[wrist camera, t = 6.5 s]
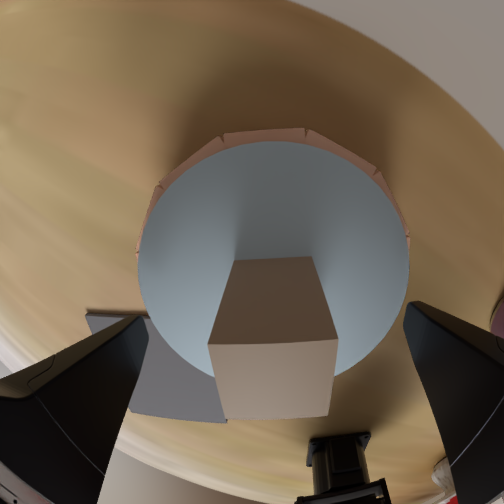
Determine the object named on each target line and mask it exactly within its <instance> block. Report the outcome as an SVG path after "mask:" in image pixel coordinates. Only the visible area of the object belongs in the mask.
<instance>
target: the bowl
mask: <svg viewBox="0 0 504 504" xmlns="http://www.w3.org/2000/svg"><path fill="white" fill-rule="evenodd" d="M223 135H224V137H222V136H217V137H216V138H214V139H213V140H211V141H210V142H209V143H207V144H206V145H205V146H203V147H202V148H201V149H199V150H198V151H197V152H196V153H194V154H193V155H192V156H190V157H189V158H188V159H186V160H185V161H184V162H183V163H181V164H180V165H179V166H178V167H176V168H175V169H174V170H173V171H172V172H170V173H169V174H168V175H167V176H165V177H164V178H163V179H162V180H161V181H159V183H160V185H158V186H156V187H155V190H154V193H153V196H152V199H151V202H150V205H149V208H148V210H147V214H146V217H145V220H144V223H143V226H142V229H141V232H140V236H139V239H138V242H137V246H136V250H138V252H137V253H135V254H136V258H137V263H138V255H139V246H140V242H141V238H142V234H143V230H144V228H145V225H146V223H147V220H148V218H149V215H150V214H151V212H152V210H153V208H154V207H155V205H156V203H157V202H158V200H159V199H160V197H161V196H162V195H163V194H164V192H165V191H166V190H167V189H168V187H169V186H170V185H171V184H172V183H173V182H174V181H175V180H176V179H177V178H179V177H180V176H181V175H182V174H183V173H184V172H185V171H187V170H188V169H190V168H191V167H192V166H194V165H195V164H197V163H198V162H200V161H202V160H203V159H205V158H207V157H209V156H212V155H214V154H216V153H218V152H220V151H223V150H226V149H229V148H232V147H236V146H239V145H243V144H249V143H256V142H263V141H286V142H293V143H300V144H306V145H310V146H314V147H317V148H320V149H323V150H326V151H329V152H331V153H333V154H335V155H337V156H339V157H342V158H344V159H346V160H348V161H349V162H350V163H352V164H353V165H355V166H356V167H358V168H359V169H361V170H362V171H363V172H365V173H366V174H367V175H368V176H369V177H370V178H371V179H372V180H373V181H374V182H375V183H376V184H377V185H378V186H379V187H380V188H381V189H382V191H383V192H384V193H385V194H386V196H387V197H388V198H389V200H390V201H391V203H392V205H393V207H394V208H395V210H396V212H397V214H398V216H399V218H400V221H401V223H402V226H403V229H404V231H405V235H406V240H407V245H408V250H409V248H410V237H409V236H408V234H409V233H410V232H409V230H408V228H407V225H406V223H405V221H404V219H403V216H402V214H401V212H400V210H399V208H398V206H397V204H396V201H395V199H394V197H393V195H392V193H391V191H390V189H389V187H388V185H387V183H386V181H385V179H384V178H383V176H382V174H381V172H380V171H377V170H376V168H377V167H375V166H374V165H372V164H370V163H369V162H367V161H366V160H364V159H362V158H361V157H359V156H357V155H356V154H354V153H352V152H351V151H349V150H347V149H345V148H344V147H342V146H340V145H338V144H337V143H335V142H333V141H331V140H330V139H328V138H326V137H324V136H322V135H320V134H318V133H317V132H315V131H313V130H311V129H309V130H307V131H304V128H284V129H267V130H254V131H243V132H233V133H224V134H223Z"/></svg>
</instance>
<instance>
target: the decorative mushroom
mask: <svg viewBox="0 0 504 504" xmlns="http://www.w3.org/2000/svg"><path fill="white" fill-rule="evenodd" d="M431 477H432V480H433V481H434V482H435V483H436V484H437V485H439V486H440V487H441V488H442V489H443V490H444V491H445V496H444V497H442V498H441V499H439V500H438V501H436V502H434V503H433V504H458V500H457V496H456V491H455V487H454V483H453V478H452V474H451V471H450V466H449V462H448V459H447V457H446V458H445V459H443V460H442V461H440V462H439V463H438V464H437V465H436V466H435V468H434V470H433V473H432V476H431Z"/></svg>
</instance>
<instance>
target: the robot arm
mask: <svg viewBox="0 0 504 504" xmlns="http://www.w3.org/2000/svg"><path fill="white" fill-rule="evenodd" d="M403 329H404V332H405V335H406V338H407V342H408V345H409V348H410V352H411V355H412V358H413V361H414V364H415V367H416V370H417V372H418V375H419V377H420V380H421V382H422V385H423V387H424V390H425V392H426V395H427V398H428V400H429V403H430V406H431V409H432V411H433V414H434V417H435V420H436V423H437V426H438V429H439V432H440V435H441V439H442V442H443V445H444V448H445V452H446V455H447V459H448V462H449V466H450V471H451V474H452V478H453V483H454V487H455V491H456V496H457V500H458V504H491V503H492V502H494V501H496V500H497V499H499V498H500V497H502V499H503V501H504V339H503V338H501V337H499V336H497V335H496V336H495V335H494V334H492V333H490V332H488V331H486V330H484V329H481V328H479V327H477V326H475V325H473V324H470V323H468V322H466V321H464V320H461V319H459V318H457V317H455V316H453V315H450V314H448V313H446V312H444V311H441V310H439V309H437V308H434V307H432V306H430V305H428V304H425V303H423V302H421V301H413V302H409V303H408V304H407V307H406V312H405V317H404V322H403ZM148 342H149V334H148V331H147V328H146V324H145V321H144V318H143V317H142V316H141V315H130V316H128V317H126V318H124V319H122V320H120V321H118V322H116V323H114V324H112V325H110V326H108V327H106V328H104V329H103V330H101V331H99V332H97V333H95V334H93V335H91V336H89V337H87V338H85V339H83V340H81V341H79V342H77V343H75V344H73V345H71V346H70V347H68V348H66V349H64V350H62V351H60V352H58V353H56V354H54V355H52V356H50V357H48V358H46V359H44V360H42V361H40V362H38V363H36V364H34V365H31V366H29V367H27V368H25V369H22V370H20V371H18V372H15V373H13V374H11V375H9V376H6V377H4V378H1V379H0V504H97V502H98V498H99V495H100V491H101V488H102V484H103V481H104V478H105V476H104V475H105V474H106V470H107V467H108V464H109V461H110V458H111V455H112V451H113V448H114V445H115V442H116V439H117V436H118V433H119V431H120V428H121V425H122V422H123V419H124V416H125V413H126V411H127V408H128V405H129V402H130V400H131V397H132V394H133V392H134V389H135V386H136V384H137V381H138V378H139V375H140V372H141V368H142V365H143V361H144V357H145V353H146V350H147V346H148ZM370 437H371V433H370V432H363V433H357V434H351V435H344V436H337V437H328V438H319V439H312V440H310V441H309V447H308V454H307V461H306V466H307V467H312V470H313V485H314V495H312V496H305V497H303V496H300V497H297V501H296V502H294V504H391V500H390V496H389V492H388V489H387V485H386V481H385V478H382V479H379V480H378V481H374V482H371V483H370V479H369V474H368V469H367V464H366V459H365V454H364V451H365V449H366V446H367V444H368V442H369V440H370ZM377 496H379V498H376V497H377Z"/></svg>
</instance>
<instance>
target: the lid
mask: <svg viewBox="0 0 504 504" xmlns="http://www.w3.org/2000/svg"><path fill="white" fill-rule="evenodd" d="M138 278H139V285H140V290H141V295H142V298H143V301H144V304H145V307H146V310H147V312H148V314H149V316H150V318H151V320H152V322H153V324H154V325H155V327H156V328H157V330H158V331H159V333H160V334H161V336H162V337H163V338H164V340H165V341H166V342H167V343H168V344H169V345H170V347H171V348H172V349H173V350H174V351H176V352H177V353H178V354H179V355H180V356H181V357H182V358H183V359H185V360H186V361H187V362H189V363H190V364H191V365H193V366H194V367H196V368H198V369H199V370H201V371H203V372H204V373H206V374H208V375H210V376H213V377H215V380H216V384H217V388H218V392H219V396H220V400H221V404H222V408H223V411H224V415H225V419H241V420H268V419H294V418H309V417H320V416H328V411H329V405H330V399H331V393H332V387H333V380H334V376H336V375H338V374H340V373H342V372H344V371H345V370H347V369H349V368H351V367H352V366H353V365H355V364H356V363H358V362H359V361H361V360H362V359H363V358H364V357H365V356H367V355H368V354H369V353H370V352H371V351H372V350H373V349H374V348H375V347H376V346H377V345H378V344H379V343H380V341H381V340H382V339H383V338H384V337H385V335H386V334H387V332H388V331H389V329H390V328H391V327H392V325H393V323H394V321H395V319H396V317H397V316H398V314H399V311H400V309H401V306H402V303H403V301H404V298H405V294H406V290H407V285H408V278H409V250H408V245H407V240H406V235H405V231H404V229H403V226H402V223H401V221H400V218H399V216H398V214H397V212H396V210H395V208H394V207H393V205H392V203H391V201H390V200H389V198H388V197H387V196H386V194H385V193H384V192H383V191H382V189H381V188H380V187H379V186H378V185H377V184H376V183H375V182H374V181H373V180H372V179H371V178H370V177H369V176H368V175H367V174H366V173H365V172H363V171H362V170H361V169H359V168H358V167H356V166H355V165H353V164H352V163H350V162H349V161H348V160H346V159H344V158H342V157H339V156H337V155H335V154H333V153H331V152H329V151H326V150H323V149H320V148H317V147H314V146H310V145H306V144H300V143H293V142H286V141H263V142H256V143H249V144H243V145H239V146H236V147H232V148H229V149H226V150H223V151H220V152H218V153H216V154H214V155H212V156H209V157H207V158H205V159H203V160H202V161H200V162H198V163H197V164H195V165H194V166H192V167H191V168H190V169H188V170H187V171H185V172H184V173H183V174H182V175H181V176H180V177H179V178H177V179H176V180H175V181H174V182H173V183H172V184H171V185H170V186H169V187H168V189H167V190H166V191H165V192H164V194H163V195H162V196H161V197H160V199H159V200H158V202H157V203H156V205H155V207H154V208H153V210H152V212H151V214H150V215H149V218H148V220H147V223H146V225H145V228H144V230H143V234H142V238H141V242H140V246H139V255H138Z"/></svg>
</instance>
